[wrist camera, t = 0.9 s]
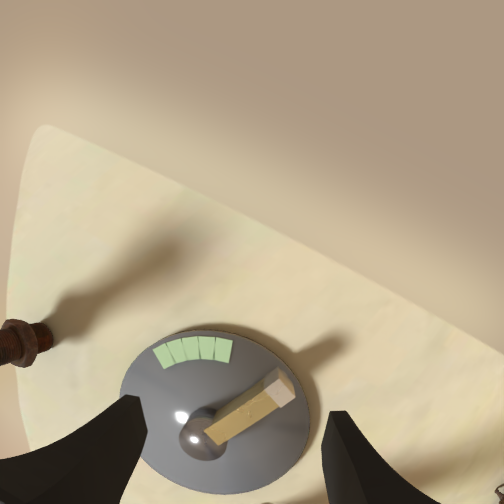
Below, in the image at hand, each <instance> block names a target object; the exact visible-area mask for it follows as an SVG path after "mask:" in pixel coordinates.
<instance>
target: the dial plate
mask: <svg viewBox="0 0 504 504" xmlns="http://www.w3.org/2000/svg"><path fill="white" fill-rule="evenodd" d="M277 366H278V367H279V368H280V369H281V370H282V371H283V372H284V374H285V375H286V376H287V377H288V378H289V379H290V380H291V382H292V383H293V386H294V391H295V398H294V399H293V400H291V401H290V402H288V403H287V404H286V405H284V406H283V407H281V408H280V407H278V408H276V409H275V410H273V411H272V412H270V413H269V414H267V415H266V416H265V417H263V418H262V419H260V420H259V421H257V422H255V423H254V424H252V425H251V426H249V427H248V428H246V429H245V430H243V431H241V432H240V433H238V434H237V435H235V436H233V437H232V438H230V439H229V440H228V444H227V448H226V451H225V453H224V454H223V455H222V456H221V457H220V458H218V459H216V460H212V461H201V460H197V459H194V458H192V457H191V456H189V455H188V454H186V453H185V452H184V451H183V449H182V448H181V446H180V443H179V433H180V431H181V429H182V428H183V426H184V424H185V423H186V421H187V419H188V417H189V416H190V414H191V413H192V412H194V411H195V410H197V409H200V408H212V409H215V410H219V409H220V408H222V407H223V406H225V405H226V404H228V403H229V402H231V401H232V400H234V399H235V398H237V397H238V396H239V395H241V394H242V393H244V392H245V391H247V390H248V389H249V388H251V387H252V386H254V385H255V384H256V383H258V382H259V381H261V380H262V379H263V378H265V375H267V374H268V373H269V372H271V371H272V370H273V369H275V368H276V367H277ZM125 394H128V395H133V396H138V397H140V400H141V405H142V409H143V413H144V417H145V421H146V425H147V429H148V434H147V437H146V441H145V444H144V447H143V450H142V453H141V455H140V456H141V458H142V459H143V460H144V461H145V462H146V463H147V464H148V465H149V466H150V467H151V468H153V469H154V470H155V471H156V472H158V473H159V474H160V475H162V476H164V477H165V478H167V479H168V480H170V481H172V482H174V483H176V484H178V485H180V486H183V487H186V488H188V489H191V490H195V491H199V492H203V493H210V494H222V495H227V494H239V493H245V492H249V491H253V490H256V489H259V488H262V487H264V486H267V485H269V484H270V483H272V482H274V481H276V480H277V479H279V478H280V477H281V476H283V475H284V474H285V473H286V472H287V471H288V470H289V469H290V468H291V467H292V466H293V465H294V464H295V463H296V461H297V460H298V459H299V457H300V455H301V454H302V452H303V450H304V448H305V445H306V442H307V439H308V434H309V428H310V416H309V409H308V404H307V401H306V398H305V394H304V391H303V389H302V387H301V385H300V383H299V381H298V379H297V378H296V376H295V375H294V373H293V372H292V371H291V369H290V368H289V367H288V366H287V365H286V364H285V363H284V362H283V361H282V360H281V359H280V358H279V357H278V356H277V355H275V354H274V353H273V352H272V351H270V350H269V349H267V348H266V347H264V346H263V345H261V344H259V343H257V342H255V341H253V340H251V339H249V338H246V337H243V336H240V335H237V334H234V333H229V332H225V331H218V330H191V331H184V332H180V333H177V334H173V335H170V336H168V337H166V338H163V339H161V340H159V341H158V342H156V343H155V344H153V345H151V346H150V347H148V348H147V349H146V350H144V351H143V352H142V353H141V354H140V355H139V356H138V357H137V358H136V359H135V360H134V361H133V363H132V364H131V366H130V367H129V369H128V370H127V372H126V374H125V377H124V379H123V382H122V386H121V390H120V398H121V397H123V396H124V395H125Z"/></svg>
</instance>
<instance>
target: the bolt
mask: <svg viewBox="0 0 504 504" xmlns="http://www.w3.org/2000/svg"><path fill="white" fill-rule="evenodd" d="M52 344H53V337H52V334H51V331H50V330H49V328H48V327H47V326H46V325H45V324H43V323H34V324H29V323H27V322H25V321H22V320H17V319H9V320H6V321H5V322H4V324H3V326H2V328H1V330H0V366H1V365H5V364H8V363H11V364H13V365H15V366H18V367H23V368H26V367H28V366H31V365H32V364H33V362H34V360H35V358H36V356H37V354H39V353H41V352H45V351H47V350H49V349H50V348H51V347H50V346H52Z"/></svg>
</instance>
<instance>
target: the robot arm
mask: <svg viewBox="0 0 504 504" xmlns="http://www.w3.org/2000/svg"><path fill="white" fill-rule="evenodd" d="M147 434H148V429H147V425H146V421H145V417H144V413H143V409H142V405H141V400H140V397H138V396H133V395H128V394H125V395H124V396H123V397H121V398H120V399H119V400H117V401H116V402H115V403H113V404H112V405H111V406H110V407H108V408H107V409H106V410H104V411H103V412H102V413H100V414H99V415H98V416H96V417H95V418H94V419H92V420H91V421H89V422H88V423H87V424H85V425H83V426H82V427H80V428H79V429H77V430H76V431H74V432H73V433H71V434H69V435H68V436H66V437H64V438H62V439H60V440H58V441H56V442H54V443H52V444H50V445H48V446H45V447H43V448H40V449H37V450H35V451H32V452H29V453H26V454H23V455H19V456H15V457H11V458H6V459H0V504H119V503H120V500H121V497H122V495H123V492H124V490H125V488H126V486H127V483H128V481H129V479H130V477H131V475H132V473H133V471H134V468H135V466H136V464H137V462H138V460H139V458H140V455H141V453H142V450H143V447H144V444H145V441H146V437H147ZM321 451H322V467H323V473H324V478H325V483H326V489H327V494H328V499H329V504H441V503H439V502H437V501H435V500H433V499H432V498H430V497H428V496H427V495H425V494H424V493H422V492H421V491H419V490H418V489H416V488H415V487H414V486H412V485H411V484H410V483H408V482H407V481H406V480H405V479H404V478H402V477H401V476H400V475H399V474H398V473H397V472H396V471H395V470H394V469H393V468H392V467H391V466H390V465H389V464H388V463H387V462H386V461H385V460H384V459H383V458H382V457H381V456H380V455H379V454H378V452H377V451H376V450H375V449H374V448H373V446H372V445H371V444H370V443H369V442H368V440H367V439H366V438H365V436H364V435H363V434H362V432H361V431H360V430H359V428H358V427H357V426H356V424H355V423H354V421H353V420H352V418H351V417H350V415H349V414H348V412H347V411H330V413H329V417H328V421H327V425H326V429H325V433H324V437H323V441H322V444H321Z"/></svg>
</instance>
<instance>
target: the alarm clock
mask: <svg viewBox="0 0 504 504" xmlns="http://www.w3.org/2000/svg"><path fill="white" fill-rule="evenodd" d="M495 493H497V495H498V496H499V498H500V500H501V501H500V502H499V504H504V494H502V493H501V492H499V490H498V489H497V490H495Z"/></svg>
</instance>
